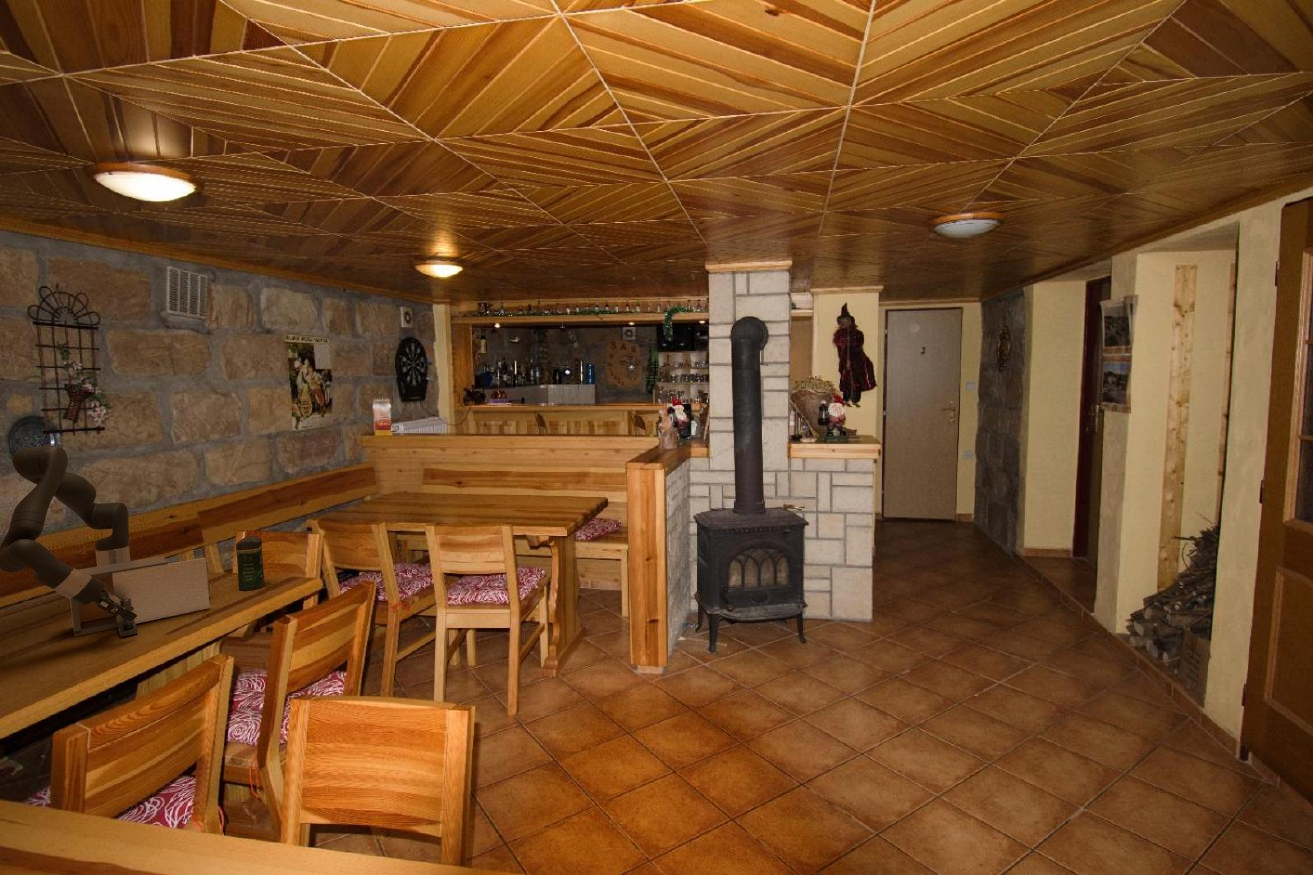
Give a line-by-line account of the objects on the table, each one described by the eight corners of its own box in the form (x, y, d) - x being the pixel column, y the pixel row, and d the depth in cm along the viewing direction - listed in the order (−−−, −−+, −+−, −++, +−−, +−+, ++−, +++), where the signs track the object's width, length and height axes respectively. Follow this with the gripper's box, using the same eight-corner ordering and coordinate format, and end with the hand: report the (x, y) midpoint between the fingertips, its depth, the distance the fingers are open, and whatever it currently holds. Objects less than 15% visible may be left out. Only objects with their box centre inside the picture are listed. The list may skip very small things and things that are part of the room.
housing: (73, 627, 205) (67, 571, 203) (167, 607, 222) (163, 555, 220) (74, 636, 198) (68, 578, 196) (172, 615, 215) (167, 561, 213)
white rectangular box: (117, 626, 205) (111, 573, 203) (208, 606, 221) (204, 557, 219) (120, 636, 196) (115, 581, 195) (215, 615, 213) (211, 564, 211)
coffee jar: (261, 589, 240) (258, 539, 238) (236, 592, 237) (232, 541, 235) (267, 581, 249) (263, 533, 247) (242, 584, 246) (239, 535, 245)
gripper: (92, 581, 187) (146, 609, 196) (88, 570, 197) (140, 598, 206) (69, 604, 184) (125, 632, 193) (66, 592, 194) (120, 619, 203)
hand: (133, 614), depth 199 cm, fingers open, 8 cm apart
